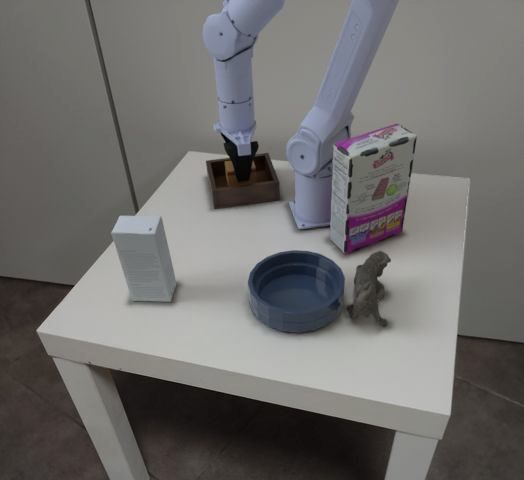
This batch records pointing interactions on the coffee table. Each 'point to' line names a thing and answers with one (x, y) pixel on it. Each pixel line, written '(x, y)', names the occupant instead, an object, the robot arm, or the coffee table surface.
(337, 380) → the coffee table surface
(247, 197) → the box
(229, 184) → the light brown rectangular block
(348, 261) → the coffee table surface
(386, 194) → the candy bar box
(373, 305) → the dog figurine
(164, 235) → the cosmetic box
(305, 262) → the bowl
